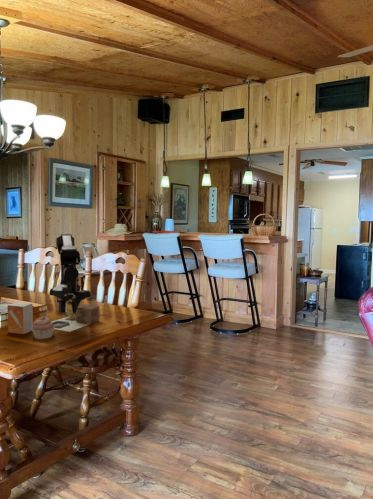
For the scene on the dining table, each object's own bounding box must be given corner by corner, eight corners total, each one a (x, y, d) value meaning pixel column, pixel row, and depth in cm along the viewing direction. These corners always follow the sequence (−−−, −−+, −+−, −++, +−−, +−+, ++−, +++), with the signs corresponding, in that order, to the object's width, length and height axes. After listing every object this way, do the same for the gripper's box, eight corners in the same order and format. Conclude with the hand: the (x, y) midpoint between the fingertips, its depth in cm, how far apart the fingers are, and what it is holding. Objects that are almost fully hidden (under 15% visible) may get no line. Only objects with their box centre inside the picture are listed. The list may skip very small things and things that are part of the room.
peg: (63, 314, 179) (63, 301, 178) (70, 312, 183) (69, 299, 182) (70, 315, 177) (70, 302, 177) (77, 313, 181) (76, 300, 180)
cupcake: (32, 344, 163) (31, 319, 162) (30, 337, 172) (30, 313, 171) (56, 341, 167) (56, 317, 166) (54, 334, 175) (53, 311, 174)
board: (38, 328, 184) (38, 317, 183) (69, 318, 202) (69, 307, 201) (69, 334, 176) (69, 322, 175) (99, 323, 194) (98, 312, 193)
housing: (75, 321, 190) (75, 307, 190) (85, 318, 197) (85, 304, 196) (89, 323, 187) (89, 309, 186) (99, 320, 193) (99, 305, 192)
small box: (7, 335, 174) (6, 304, 173) (18, 330, 180) (17, 301, 179) (23, 337, 172) (22, 306, 171) (33, 332, 178) (32, 303, 177)
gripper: (39, 278, 175) (40, 313, 177) (73, 281, 167) (74, 319, 169) (58, 274, 185) (59, 308, 187) (91, 277, 177) (91, 313, 179)
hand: (70, 312), depth 180 cm, fingers closed on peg, 4 cm apart
